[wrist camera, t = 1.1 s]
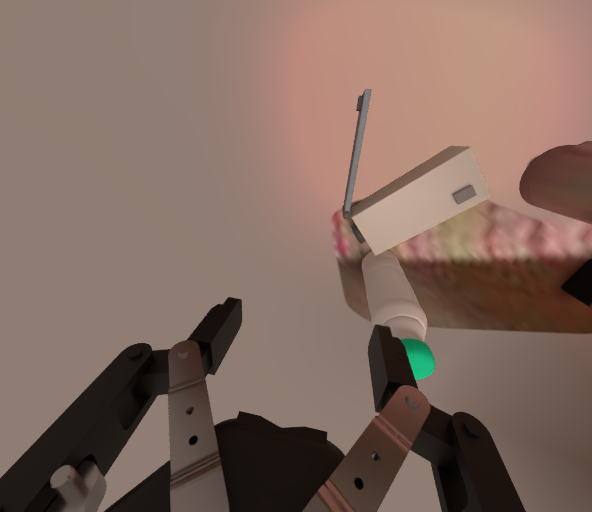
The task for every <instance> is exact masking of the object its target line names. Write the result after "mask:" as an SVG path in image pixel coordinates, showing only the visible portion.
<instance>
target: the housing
mask: <svg viewBox="0 0 592 512" xmlns="http://www.w3.org/2000/svg"><path fill="white" fill-rule="evenodd" d="M491 197H492V196H491V193H490V191H489V189H488V186H487V184H486V181H485V180H484V177H483V174H482V172H481V169H480V167H479V164H478V162H477V160H476V157H475V155H474V152H473V150H472V148H471V147H461V146H460V147H459V146H450V147H448V148H447V149H445V150H444V151H442V152H440V153H439V154H437V155H435V156H434V157H432V158H431V159H429V160H427V161H426V162H424V163H423V164H421V165H419V166H417V167H416V168H414V169H413V170H411V171H409V172H408V173H406V174H404V175H403V176H401V177H400V178H398V179H396V180H395V181H393V182H391V183H390V184H388V185H387V186H385V187H383V188H382V189H380V190H379V191H377V192H375V193H373V194H372V195H370V196H369V197H367V198H365V199H364V200H362V201H360V202H359V203H357V204H356V205H354V206H352V207H351V208H350V211H351V217H352V219H353V221H354V223H355V224H354V225H352V226H351V228H352V230H353V232H354V234H355V236H356V238H357V239H358V241H359V242H360V243H363V242H365V241H366V242H367V243H368V245H369V246H370V248H371V250H372V251H373V253H374V254H375V256H376V255H378V254H380V253H382V252H384V251H386V250H388V249H390V248H392V247H394V246H396V245H398V244H400V243H402V242H404V241H406V240H408V239H410V238H412V237H414V236H416V235H418V234H420V233H422V232H424V231H425V230H427V229H429V228H431V227H433V226H435V225H437V224H439V223H441V222H443V221H445V220H447V219H449V218H451V217H453V216H455V215H457V214H459V213H461V212H463V211H465V210H467V209H469V208H471V207H473V206H475V205H477V204H479V203H481V202H483V201H485V200H487V199H489V198H491Z"/></svg>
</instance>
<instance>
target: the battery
mask: <svg viewBox="0 0 592 512" xmlns="http://www.w3.org/2000/svg"><path fill="white" fill-rule="evenodd" d="M562 289H563V290H564V291H566V292H567V293H569V294H570V295H572V296H573V297H575V298H576V299H578V300H579V301H581V302H583V303H584V304H586V305H587V306H589V307H590V308H592V260H590V261H589V262H588V263H587V264H586V265H585V266H584V267H583V268H582V269H581V270H580V271H579V272H578V273H577V274H576V275H574V276H573V277H572V278H571V279H570V280H569V281H568V282H567V283H566V284H565V285H564V286H563V287H562Z"/></svg>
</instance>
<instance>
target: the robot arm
mask: <svg viewBox="0 0 592 512" xmlns="http://www.w3.org/2000/svg"><path fill="white" fill-rule="evenodd" d="M519 189H520V194H521V196H522V198H523V199H524V200H525V201H526V202H527V203H529V204H531V205H533V206H537V207H539V208H542V209H546V210H549V211H551V212H554V213H558V214H561V215H564V216H567V217H570V218H573V219H576V220H579V221H582V222H585V223H588V224H592V141H586V142H583V143H582V144H579V145H565V146H559V147H556V148H553V149H550V150H548V151H546V152H544V153H543V154H541V155H540V156H538V157H537V158H536V159H535V160H534V161H533V162H532V163H530V165H529V166H528V167H527V168H526V170H525V171H524V173H523V175H522V177H521V181H520V188H519ZM241 323H242V301H241V299H236V298H231V297H228V298H227V300H226V301H225V302H224V304H223V305H222V304H218V305H216V306H215V307H213V308H212V309H211V310H210V311H209V312H208V313H207V316H205V317H204V319H203V320H202V321H201V323H200V324H199V325H198V326H197V328H196V329H195V330H194V331H193V333H192V334H191V335H190V337H189V338H188V339H187V340H186V341H182V342H179V343H177V344H175V345H174V346H173V347H172V348H171V349H168V350H156V351H155V350H154V351H152V348H151V346H150V345H149V344H146V343H138V344H134V345H131V346H129V347H128V348H126V349H125V350H123V351H122V352H121V353H120V354H119V355H118V356H117V358H115V360H113V362H112V363H111V364H110V365H109V366H108V367H107V368H106V369H105V370H104V371H103V372H102V373H101V374H100V375H99V376H98V377H97V378H96V379H95V380H94V381H93V382H92V384H90V386H89V387H88V388H87V389H86V390H85V391H84V392H83V393H82V394H81V395H80V396H79V397H78V398H77V399H76V400H75V401H74V402H73V403H72V404H71V405H70V406H69V407H68V408H67V409H66V410H65V412H64V413H63V414H62V415H61V416H60V417H59V418H58V419H57V420H56V421H55V422H54V423H53V424H52V425H51V426H50V427H49V428H48V429H47V430H46V431H45V432H44V433H43V434H42V435H41V437H40V438H39V439H38V440H37V441H36V442H35V443H34V444H33V445H32V446H31V447H30V448H29V449H28V450H27V451H26V452H25V453H24V454H23V455H22V456H21V457H20V458H19V460H17V462H16V463H15V464H14V465H13V466H12V467H11V468H10V469H9V470H8V471H7V472H6V473H5V474H4V475H3V476H2V477H1V478H0V512H97V510H98V508H99V506H100V504H101V502H102V499H103V498H104V495H105V491H106V480H105V478H104V477H105V475H106V473H107V472H108V470H109V469H110V467H111V466H112V464H113V463H114V461H115V460H116V458H117V457H118V455H119V453H120V452H121V450H122V449H123V448H124V446H125V445H126V443H127V441H128V440H129V438H130V437H131V435H132V434H133V432H134V431H135V429H136V428H137V426H138V425H139V423H140V422H141V420H142V418H143V417H144V416H145V414H146V412H147V411H148V409H149V408H150V406H151V405H152V403H153V402H154V400H155V399H156V397H157V396H158V395H163V394H168V405H169V407H168V409H169V436H170V460H169V461H168V462H167V463H165V464H164V465H163V466H161V467H160V468H159V469H158V470H156V471H155V472H154V473H152V474H151V475H150V476H149V477H147V478H146V479H145V480H143V481H142V482H141V483H140V484H138V485H137V486H136V487H134V488H133V489H132V490H131V491H129V492H128V493H127V494H125V495H124V496H123V497H122V498H120V499H119V500H118V501H116V502H115V503H114V504H113V505H111V506H110V507H109V508H108V509H106V510H105V511H104V512H377V510H378V509H379V507H380V505H381V503H382V501H383V499H384V497H385V495H386V493H387V492H388V490H389V488H390V486H391V484H392V482H393V481H394V479H395V477H396V475H397V473H398V471H399V469H400V468H401V466H402V463H403V462H404V460H405V458H406V456H407V454H408V452H409V451H410V450H412V451H413V452H415V453H417V454H418V455H420V456H422V457H423V458H425V459H427V460H428V461H430V462H431V466H432V471H433V475H434V479H435V484H436V488H437V492H438V496H439V501H440V505H441V510H442V512H526V511H525V509H524V507H523V505H522V502H521V500H520V498H519V496H518V494H517V491H516V489H515V487H514V485H513V483H512V481H511V478H510V476H509V474H508V472H507V470H506V468H505V465H504V463H503V461H502V459H501V457H500V455H499V452H498V450H497V448H496V446H495V443H494V441H493V439H492V437H491V435H490V433H489V431H488V430H487V428H486V427H485V426H484V425H483V424H482V423H481V422H480V421H479V420H478V419H476V418H475V417H473V416H472V415H470V414H468V413H465V412H456V413H455V414H454V415H453V416H451V415H449V414H447V413H445V412H443V411H441V410H439V409H437V408H435V407H434V406H432V405H431V404H430V403H429V401H428V399H427V398H426V396H425V395H424V394H423V393H422V392H421V391H419V390H418V387H417V384H416V381H415V377H414V374H413V371H412V368H411V365H410V363H409V358H408V356H407V352H406V349H405V346H404V344H403V343H402V342H401V340H400V339H399V338H397V337H392V333H391V329H390V327H389V326H383V325H378V324H375V326H374V329H373V332H372V335H371V339H370V342H369V346H368V357H369V364H370V372H371V380H372V388H373V396H374V404H375V411H376V412H378V413H380V414H379V415H378V416H375V418H374V419H373V420H372V421H371V423H370V424H369V425H368V427H367V428H366V429H365V431H364V432H363V433H362V435H361V436H360V437H359V439H358V440H357V441H356V443H355V444H354V445H353V447H352V448H351V449H350V451H349V452H348V454H347V455H346V456H345V455H344V454H343V453H342V451H341V450H340V449H339V448H338V447H336V446H335V445H334V444H333V443H331V442H330V441H328V440H327V432H325V431H321V430H317V429H313V428H308V427H289V428H281V427H279V426H277V425H275V424H273V423H272V422H270V421H268V420H266V419H265V418H263V417H261V416H258V415H254V414H250V413H246V412H241V411H239V414H238V417H237V418H235V419H229V420H226V421H223V422H221V423H218V424H217V425H215V426H214V423H213V418H212V413H211V407H210V402H209V396H208V391H207V385H206V380H205V378H206V376H207V374H212V375H215V373H216V371H217V370H218V368H219V366H220V364H221V362H222V360H223V358H224V357H225V355H226V353H227V351H228V349H229V347H230V345H231V344H232V342H233V340H234V338H235V336H236V334H237V333H238V331H239V329H240V326H241Z"/></svg>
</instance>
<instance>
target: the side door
mask: <svg viewBox="0 0 592 512" xmlns="http://www.w3.org/2000/svg"><path fill="white" fill-rule="evenodd" d="M370 96H371V89H365V91H364V93H363V95H362V96H359V98H358V104H357V111H359V116H358V122H357V128H356V134H355V140H354V146H353V152H352V159H351V164H350V170H349V176H348V182H347V188H346V194H345V200H344V206H343V217H344V219H348V218H349V212H350V207H351V201H352V195H353V190H354V185H355V179H356V173H357V168H358V162H359V157H360V151H361V146H362V140H363V135H364V129H365V123H366V118H367V112H368V107H369V101H370Z"/></svg>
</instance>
